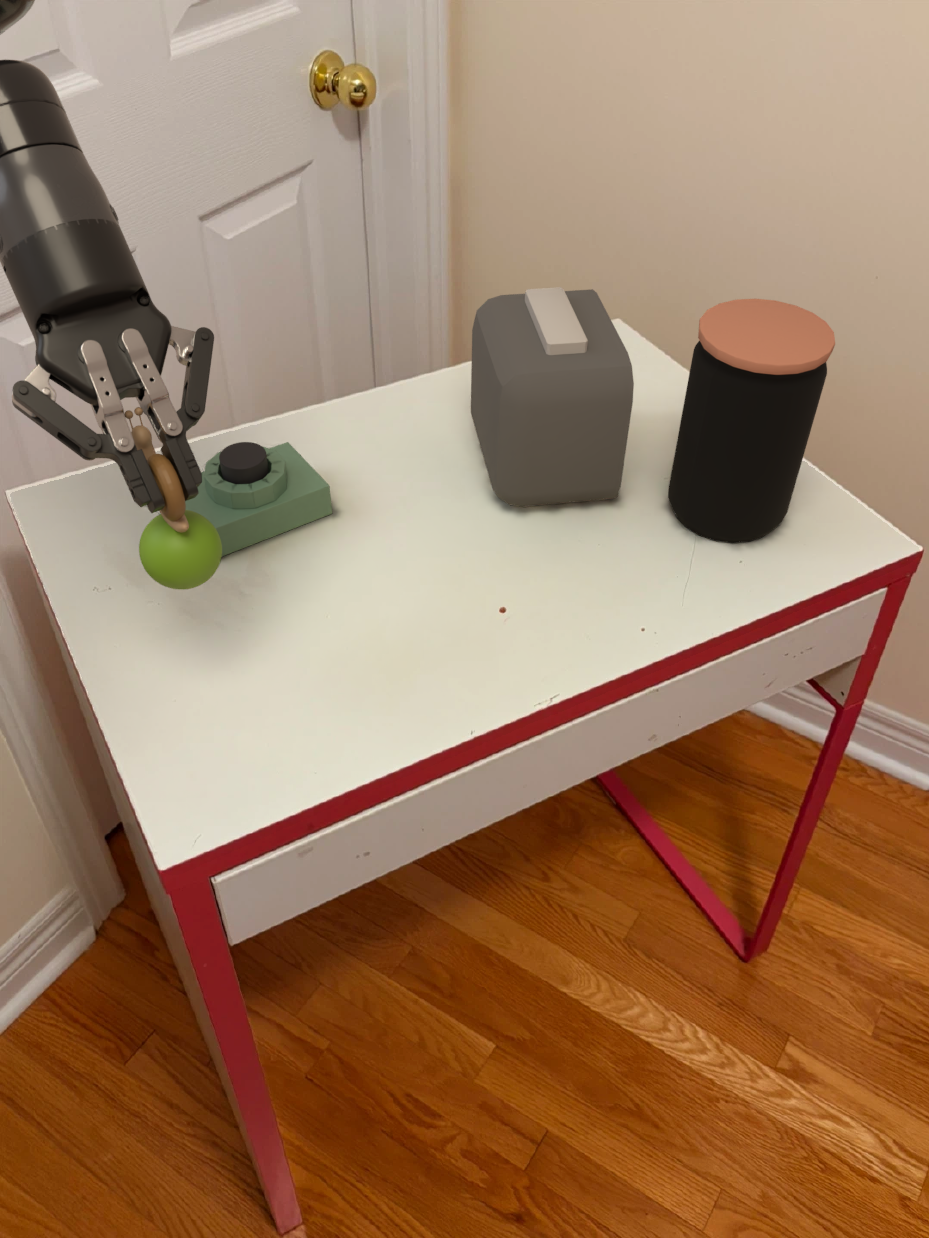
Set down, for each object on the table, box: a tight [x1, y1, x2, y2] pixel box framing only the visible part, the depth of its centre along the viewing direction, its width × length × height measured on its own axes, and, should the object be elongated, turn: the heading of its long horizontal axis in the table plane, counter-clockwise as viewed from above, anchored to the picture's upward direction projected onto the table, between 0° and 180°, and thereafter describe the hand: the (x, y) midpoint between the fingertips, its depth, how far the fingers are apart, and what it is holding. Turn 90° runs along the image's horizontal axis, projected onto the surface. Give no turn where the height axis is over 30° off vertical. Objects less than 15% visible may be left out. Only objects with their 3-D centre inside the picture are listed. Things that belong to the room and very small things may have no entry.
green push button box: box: [185, 441, 333, 558], centre depth 92 cm, size 12×8×5 cm, turn 124°
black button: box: [219, 441, 269, 484], centre depth 90 cm, size 4×4×2 cm
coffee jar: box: [667, 298, 836, 544], centre depth 89 cm, size 11×11×18 cm
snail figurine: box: [124, 406, 223, 591], centre depth 69 cm, size 5×6×12 cm
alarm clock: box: [470, 286, 635, 508], centre depth 95 cm, size 16×11×16 cm
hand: (174, 502), depth 66 cm, fingers closed on snail figurine
